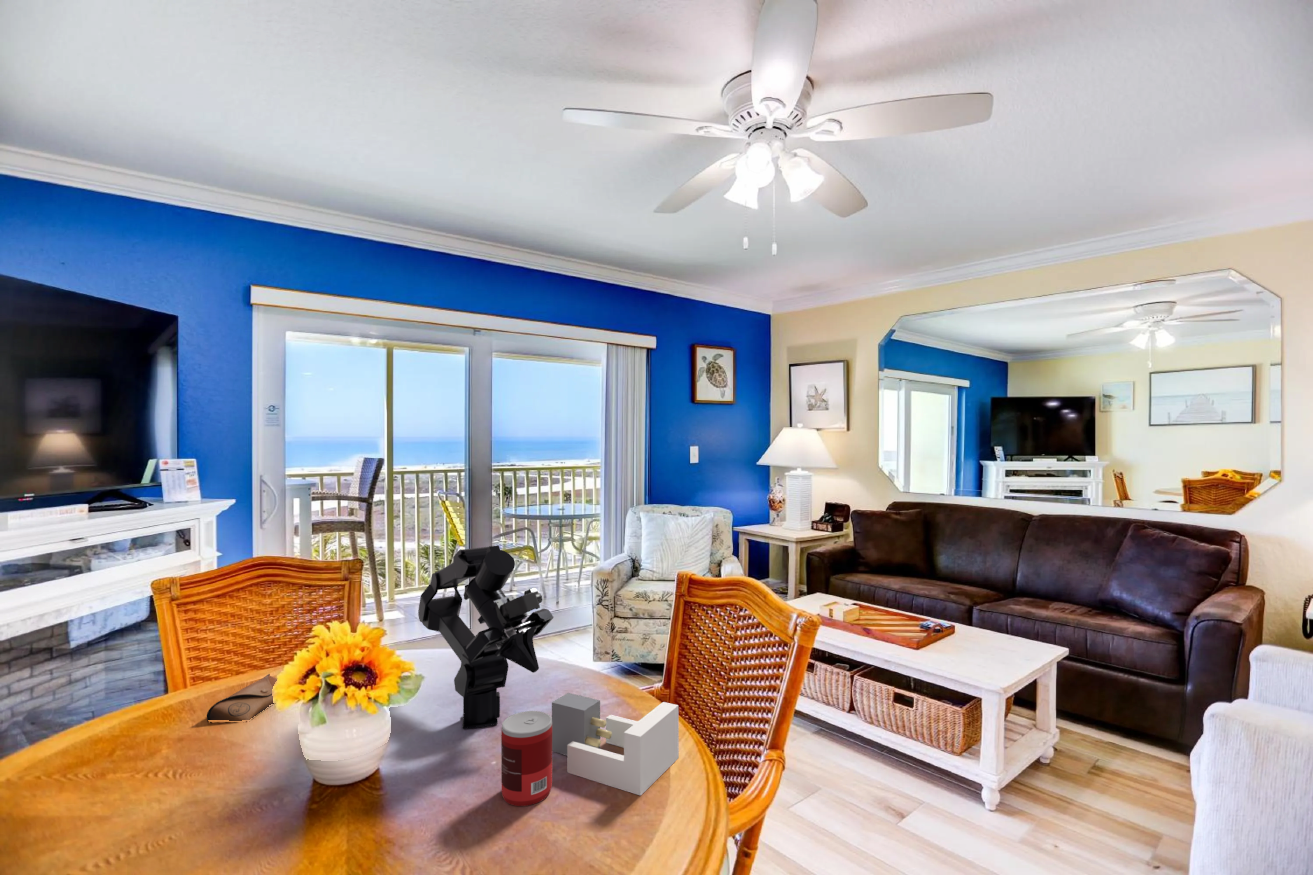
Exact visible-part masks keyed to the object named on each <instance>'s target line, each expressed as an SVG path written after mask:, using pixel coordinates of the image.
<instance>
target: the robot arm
mask: <svg viewBox="0 0 1313 875" xmlns="http://www.w3.org/2000/svg"><path fill="white" fill-rule="evenodd" d="M452 559H453V562H451V563H450V564H449V565H446V566H444V567H443V568H442V569H440V570H437V571H435V572H433V573H432V574H431V578H430V583H429V584H428V586H427V587H426V588H425V589H424V591H423V592H422V593H421V594H420V598H419V605H418V613H417V614H418V621H420V623H421V624H422V625H423V626H424V628H426V629H427V630H429V631H434V632H439V634H440V635H441V636H442V637H443V638H444V640H445V641H446V643H447V644H448V646H449V647H450V648H451V649H452V651H453V653H454V654H455V655H456V656H457V658H458V659H459V661H460V667H459V669H458V670H457V673H456V675H455V677H454V679H453V682H454V684H453V685H454V690H455V692H456V693H458V695H460V696H461V697H462V700H463V701H462V702H463V703H462V709H463V714H462V726H461V727H462V730H463V729H464V730H466V729H473V728H474V729H476V728H483V727H491V726H496V725H498V722H499V721H498V719H499V718H500V717H501V695H500V691H498V689H499V688H505V687H506V683H507V677H508V673H509V672H508V671H509V663H508V661H510V662H513V663H515V664H516V665H519V667H522V668H524V669H526V670H527V671H530V672H531V673H532V674H534V673H536V672H538V671H539V669H540V666H539V663H538V659H537V655H536V654H537V653H536V650H535V646H534V637H536V636H537V635H539V634H540V633H541V632H542V631H543V630H544V629H545V628H546V627H547V626H548V625H549V624H550V623H551V621H552V620H553V619H554V616H553V614H552V613H551V611H550V610H549V609H547V608H541V606H540V603H541V604H542V602H543V595H542V594H541V593H540V591H539V590H538V589H537V588H536V587H533V588H529V589H527V590H525V591H524V592H523V595H520V596H518V597H516V598H515V597H514V596H512V595H510V596H509V595H508V596H506V594H505V593H504V592H503V590H502V589H503V588H504V587H505V585H506V583H507V582H508V580H509V578H510V576H511V575H512V573H513V571H514V570H515V566H516V562H515V558H514V557H513V556H512V555H511V554H510V553H509V552H507V551H506V550H502V549H501V548H500V546H499V545H490V546H483V547H475V548H474V547H473V548H464V549H459V550H458V551H457V552H455V554H454V555H453V558H452ZM468 579H471V580H470V581H469V582H468V583H467V584H465V585H464V593H463V597H462V595H461V594H460V592H459V591H458V585H459V584H461V583H463V582H464V581H466V580H468ZM445 589H446V590H447V589H453V590H454V595H450V596H445V597H437V598H434V597H435V596H436V594H438V591H439V590H445ZM469 599H470V601H471V603H472V604H473V606H474V608H475V609H476V611H477V612H478V613H479V615H480V616H479V618H478V619H477V621H478V622H479V624H480V625H482V624H484V623H485V624H486V626H487V628H486V629H483V630H481V631H478V632H477V634H474V633H473V631H472V630H471V629H470V628H469V627H468V626H467V624H466V623H465V621H463V619H462V618H461V617H460V612H461V608H462V604H463V600H465V601H466V600H469ZM533 610H535V611H533ZM531 611H533V612H531ZM529 612H531V613H530V615H529V614H528V613H529ZM527 616H528V617H527ZM523 620H524V621H523Z"/></svg>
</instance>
